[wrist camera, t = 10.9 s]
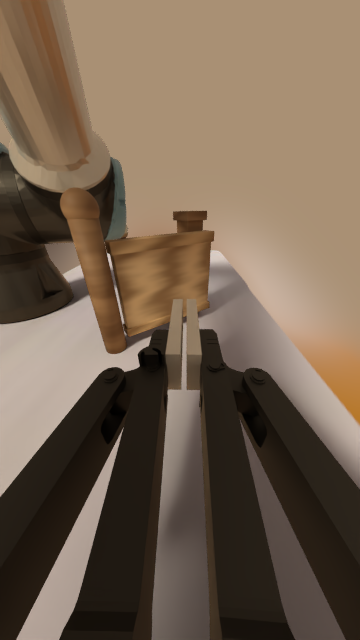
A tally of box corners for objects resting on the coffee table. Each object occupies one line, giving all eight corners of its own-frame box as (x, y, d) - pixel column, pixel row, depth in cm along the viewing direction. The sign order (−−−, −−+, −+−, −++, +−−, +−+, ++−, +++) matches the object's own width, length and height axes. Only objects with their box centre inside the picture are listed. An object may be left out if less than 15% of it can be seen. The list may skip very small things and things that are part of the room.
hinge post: (102, 344, 24) (55, 188, 16) (125, 337, 26) (92, 189, 17) (106, 357, 22) (53, 184, 13) (131, 349, 23) (96, 185, 15)
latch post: (176, 310, 32) (173, 211, 25) (191, 305, 34) (192, 211, 26) (187, 317, 30) (186, 211, 22) (202, 312, 32) (207, 210, 24)
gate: (128, 336, 23) (109, 242, 17) (124, 330, 25) (104, 240, 19) (209, 307, 30) (214, 231, 24) (201, 303, 31) (205, 230, 25)
